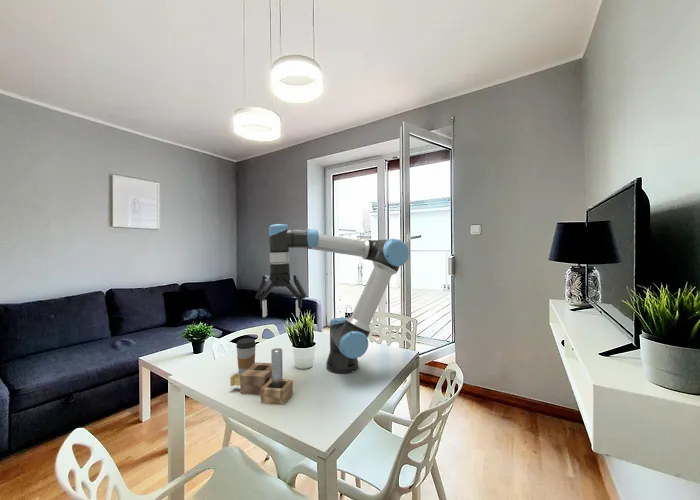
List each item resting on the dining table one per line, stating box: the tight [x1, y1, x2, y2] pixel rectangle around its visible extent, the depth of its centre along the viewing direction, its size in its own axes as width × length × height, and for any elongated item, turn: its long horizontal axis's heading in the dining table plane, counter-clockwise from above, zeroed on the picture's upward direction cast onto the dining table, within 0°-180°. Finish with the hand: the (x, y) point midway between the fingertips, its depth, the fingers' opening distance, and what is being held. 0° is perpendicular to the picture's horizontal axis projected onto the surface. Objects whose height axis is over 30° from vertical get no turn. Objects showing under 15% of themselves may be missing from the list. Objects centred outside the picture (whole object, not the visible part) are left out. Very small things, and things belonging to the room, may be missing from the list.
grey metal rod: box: [270, 347, 284, 389], centre depth 111 cm, size 4×4×18 cm
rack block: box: [260, 378, 294, 405], centre depth 111 cm, size 9×9×5 cm
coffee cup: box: [236, 337, 257, 375], centre depth 132 cm, size 8×8×15 cm
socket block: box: [239, 362, 272, 396], centre depth 120 cm, size 10×13×7 cm
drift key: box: [229, 373, 266, 387], centre depth 117 cm, size 13×3×3 cm, turn 81°
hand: (281, 316), depth 117 cm, fingers open, 13 cm apart
